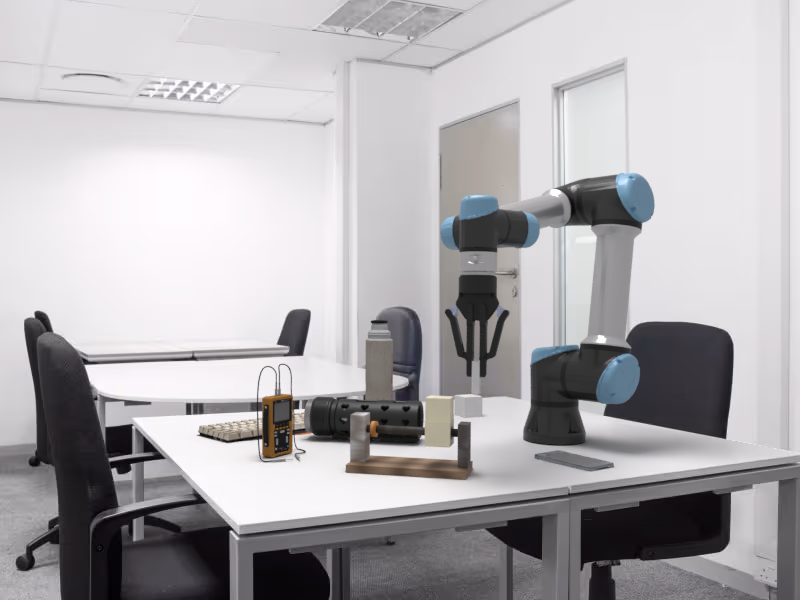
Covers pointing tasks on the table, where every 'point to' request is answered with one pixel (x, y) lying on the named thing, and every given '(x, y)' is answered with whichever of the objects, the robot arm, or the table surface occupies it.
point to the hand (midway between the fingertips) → (476, 393)
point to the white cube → (468, 405)
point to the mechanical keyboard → (244, 430)
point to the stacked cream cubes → (439, 421)
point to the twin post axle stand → (405, 465)
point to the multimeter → (277, 423)
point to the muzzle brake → (335, 415)
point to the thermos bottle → (379, 362)
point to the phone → (573, 460)
